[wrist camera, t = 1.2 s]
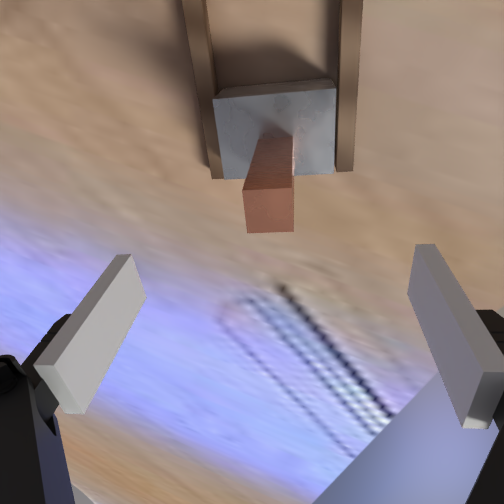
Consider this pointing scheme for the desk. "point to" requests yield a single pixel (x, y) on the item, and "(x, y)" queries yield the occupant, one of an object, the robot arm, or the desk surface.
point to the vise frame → (345, 82)
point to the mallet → (275, 144)
